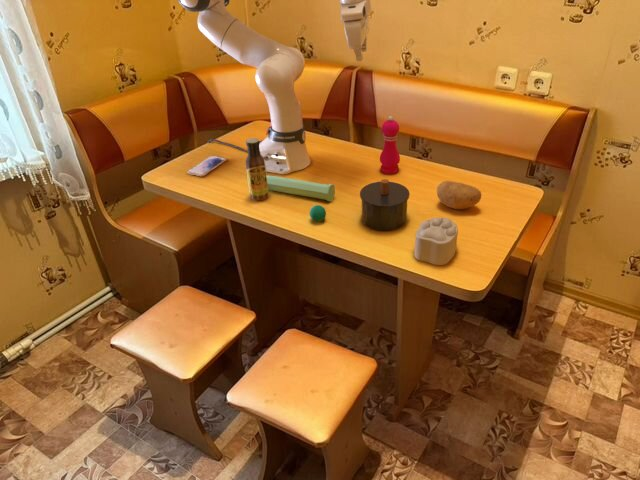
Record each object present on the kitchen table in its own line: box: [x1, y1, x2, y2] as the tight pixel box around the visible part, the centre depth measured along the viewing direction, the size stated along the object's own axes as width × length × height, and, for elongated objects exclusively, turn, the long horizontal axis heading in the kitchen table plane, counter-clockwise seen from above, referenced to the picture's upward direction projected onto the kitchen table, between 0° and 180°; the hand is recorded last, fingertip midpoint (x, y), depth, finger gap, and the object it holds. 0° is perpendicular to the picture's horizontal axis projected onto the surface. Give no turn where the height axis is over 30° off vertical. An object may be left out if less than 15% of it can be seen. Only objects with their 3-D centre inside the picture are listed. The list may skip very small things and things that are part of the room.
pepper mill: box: [379, 115, 401, 175], centre depth 173 cm, size 7×7×20 cm
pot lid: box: [359, 178, 410, 207], centre depth 147 cm, size 15×15×5 cm
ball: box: [309, 204, 327, 223], centre depth 152 cm, size 5×5×5 cm
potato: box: [436, 180, 482, 210], centre depth 156 cm, size 10×14×8 cm
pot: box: [361, 200, 408, 232], centre depth 151 cm, size 14×14×8 cm
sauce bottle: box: [245, 137, 269, 201], centre depth 159 cm, size 6×6×20 cm
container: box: [267, 175, 336, 203], centre depth 165 cm, size 6×6×25 cm
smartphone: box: [187, 154, 227, 177], centre depth 183 cm, size 7×1×15 cm
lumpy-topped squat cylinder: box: [414, 216, 459, 266], centre depth 137 cm, size 10×13×9 cm
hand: (362, 55), depth 154 cm, fingers open, 8 cm apart
